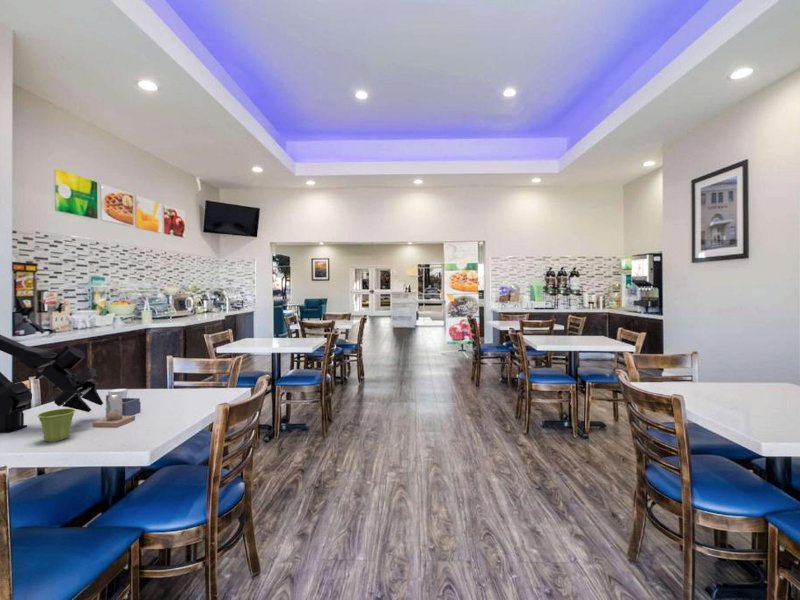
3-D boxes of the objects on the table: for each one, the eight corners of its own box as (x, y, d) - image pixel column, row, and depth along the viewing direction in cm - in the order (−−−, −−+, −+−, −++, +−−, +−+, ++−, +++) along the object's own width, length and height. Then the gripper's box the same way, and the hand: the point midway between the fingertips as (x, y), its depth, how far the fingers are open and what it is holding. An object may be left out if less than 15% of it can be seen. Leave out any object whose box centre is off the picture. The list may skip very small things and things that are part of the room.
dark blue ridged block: (125, 417, 156) (125, 403, 156) (106, 417, 156) (106, 402, 156) (140, 411, 164) (140, 398, 164) (121, 411, 164) (121, 397, 164)
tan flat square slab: (116, 427, 144) (116, 423, 144) (92, 426, 145) (92, 422, 145) (135, 419, 153) (134, 415, 153) (112, 419, 154) (112, 415, 154)
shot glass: (116, 409, 167) (115, 392, 167) (104, 408, 170) (104, 391, 170) (131, 405, 174) (131, 388, 174) (120, 403, 176) (120, 387, 176)
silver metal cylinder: (111, 421, 146) (111, 396, 146) (103, 420, 148) (103, 395, 147) (125, 418, 150) (125, 393, 150) (116, 416, 152) (116, 392, 152)
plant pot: (73, 440, 131) (73, 413, 131) (34, 446, 126) (34, 418, 126) (77, 432, 139) (77, 407, 139) (41, 437, 134) (40, 411, 134)
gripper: (65, 366, 137) (102, 397, 140) (92, 358, 155) (124, 385, 158) (37, 390, 135) (75, 421, 138) (67, 379, 153) (101, 407, 156)
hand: (96, 407), depth 147 cm, fingers open, 9 cm apart
